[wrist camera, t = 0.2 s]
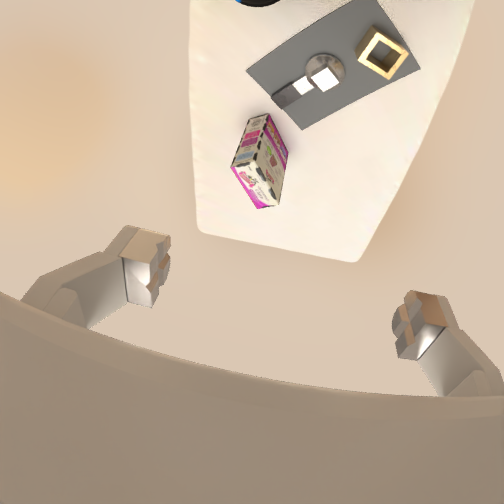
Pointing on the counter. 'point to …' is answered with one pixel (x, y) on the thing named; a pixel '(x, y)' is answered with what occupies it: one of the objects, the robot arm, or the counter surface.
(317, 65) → the ratchet
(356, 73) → the mat
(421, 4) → the counter surface
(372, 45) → the brass square frame
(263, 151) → the candy bar box
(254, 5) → the aerosol can
